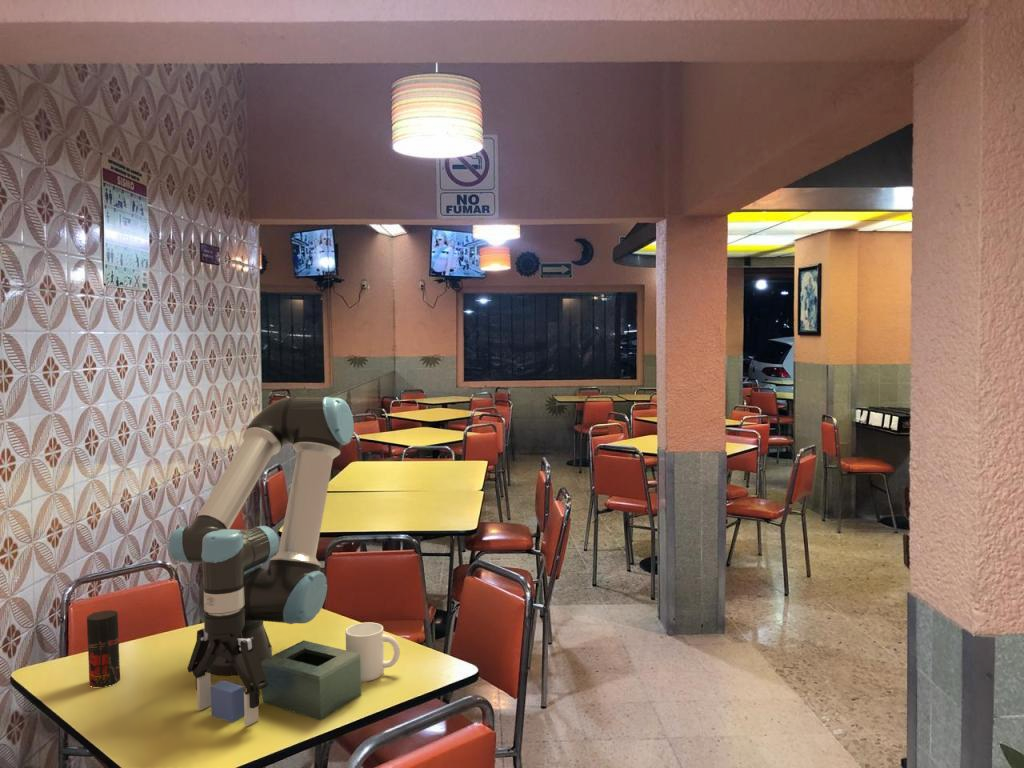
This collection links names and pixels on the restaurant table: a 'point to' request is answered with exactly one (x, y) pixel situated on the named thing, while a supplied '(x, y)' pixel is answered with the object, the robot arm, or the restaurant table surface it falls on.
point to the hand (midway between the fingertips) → (227, 715)
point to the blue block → (227, 701)
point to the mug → (370, 648)
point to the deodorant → (103, 648)
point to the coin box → (311, 679)
